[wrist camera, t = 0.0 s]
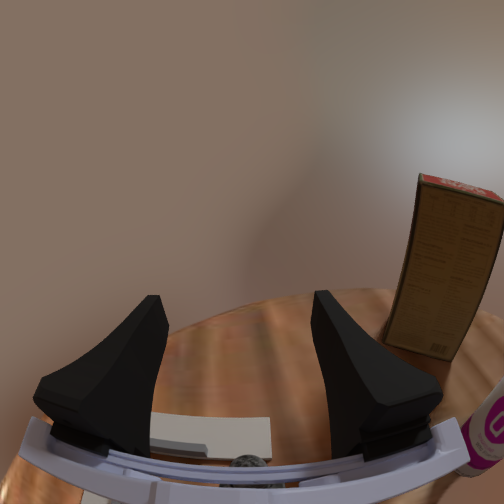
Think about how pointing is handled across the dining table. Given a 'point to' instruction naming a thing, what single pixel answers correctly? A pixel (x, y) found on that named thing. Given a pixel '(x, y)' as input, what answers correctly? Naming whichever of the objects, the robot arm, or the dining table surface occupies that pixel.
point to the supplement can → (485, 434)
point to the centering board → (203, 440)
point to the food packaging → (444, 266)
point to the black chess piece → (251, 462)
